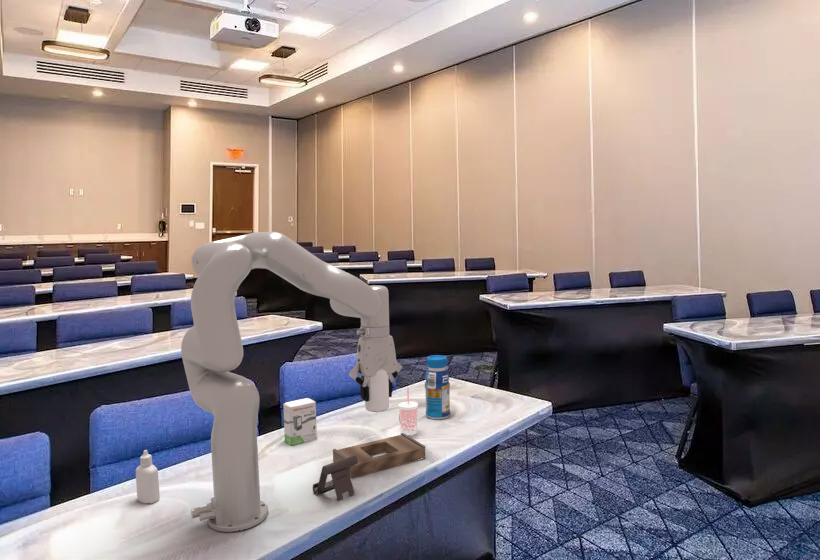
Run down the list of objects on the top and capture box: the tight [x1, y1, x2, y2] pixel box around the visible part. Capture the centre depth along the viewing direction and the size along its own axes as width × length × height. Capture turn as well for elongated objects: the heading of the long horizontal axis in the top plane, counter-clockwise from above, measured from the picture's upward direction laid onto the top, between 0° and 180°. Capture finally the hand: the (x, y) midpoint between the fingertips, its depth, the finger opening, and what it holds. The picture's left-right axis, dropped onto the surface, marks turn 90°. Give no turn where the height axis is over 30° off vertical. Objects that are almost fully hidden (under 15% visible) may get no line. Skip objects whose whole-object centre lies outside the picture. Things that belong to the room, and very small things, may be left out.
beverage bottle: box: [424, 354, 451, 420], centre depth 183 cm, size 8×8×20 cm
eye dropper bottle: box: [135, 449, 161, 504], centre depth 128 cm, size 4×6×12 cm
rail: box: [332, 433, 426, 479], centre depth 149 cm, size 22×12×3 cm, turn 120°
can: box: [364, 370, 390, 413], centre depth 147 cm, size 6×6×12 cm
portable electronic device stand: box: [312, 455, 358, 502], centre depth 130 cm, size 9×8×8 cm
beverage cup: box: [397, 387, 419, 436], centre depth 168 cm, size 6×6×14 cm
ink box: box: [283, 397, 318, 446], centre depth 164 cm, size 9×5×12 cm, turn 127°
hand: (376, 397), depth 147 cm, fingers closed on can, 6 cm apart
